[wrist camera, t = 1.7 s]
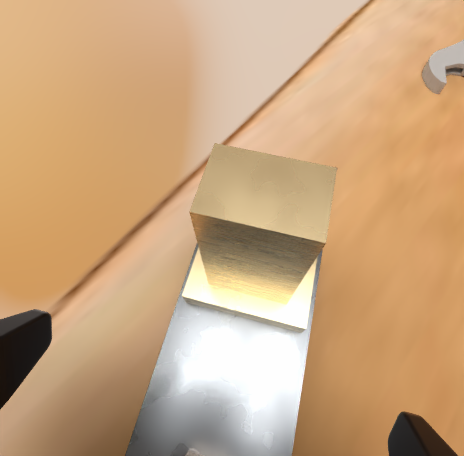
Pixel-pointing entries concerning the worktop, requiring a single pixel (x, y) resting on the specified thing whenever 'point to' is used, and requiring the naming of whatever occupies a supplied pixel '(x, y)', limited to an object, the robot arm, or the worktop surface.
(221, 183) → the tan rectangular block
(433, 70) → the adjustable wrench
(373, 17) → the worktop surface
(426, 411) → the worktop surface
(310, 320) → the brushed steel slab
